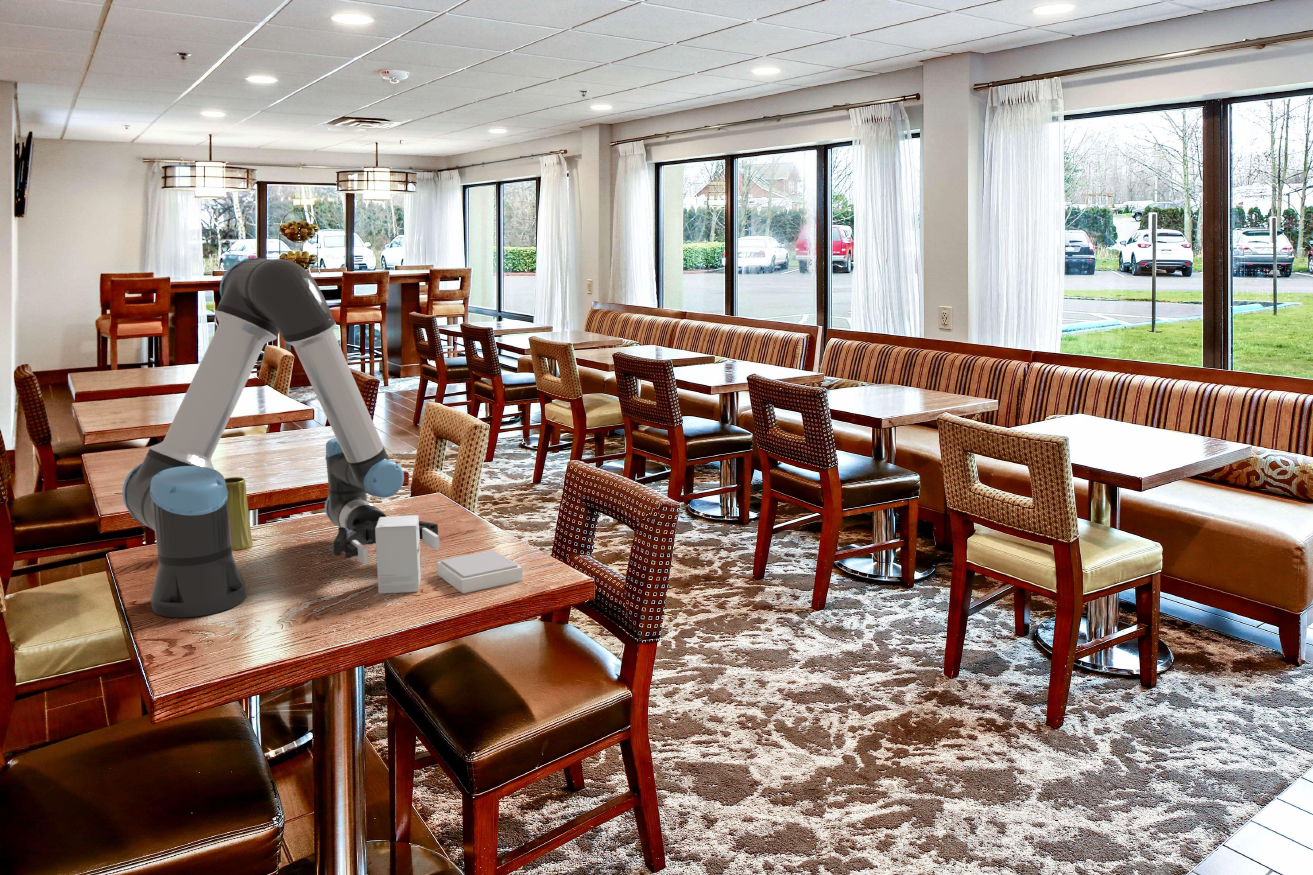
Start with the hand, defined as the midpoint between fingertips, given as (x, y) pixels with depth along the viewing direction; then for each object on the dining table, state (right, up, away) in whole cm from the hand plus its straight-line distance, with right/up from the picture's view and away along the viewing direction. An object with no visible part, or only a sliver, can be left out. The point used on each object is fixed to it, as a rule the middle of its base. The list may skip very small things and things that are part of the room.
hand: (402, 549), depth 174 cm
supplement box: (-1, -7, +1) cm, 7 cm away
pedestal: (+13, -6, +6) cm, 15 cm away
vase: (-41, -2, +24) cm, 47 cm away
